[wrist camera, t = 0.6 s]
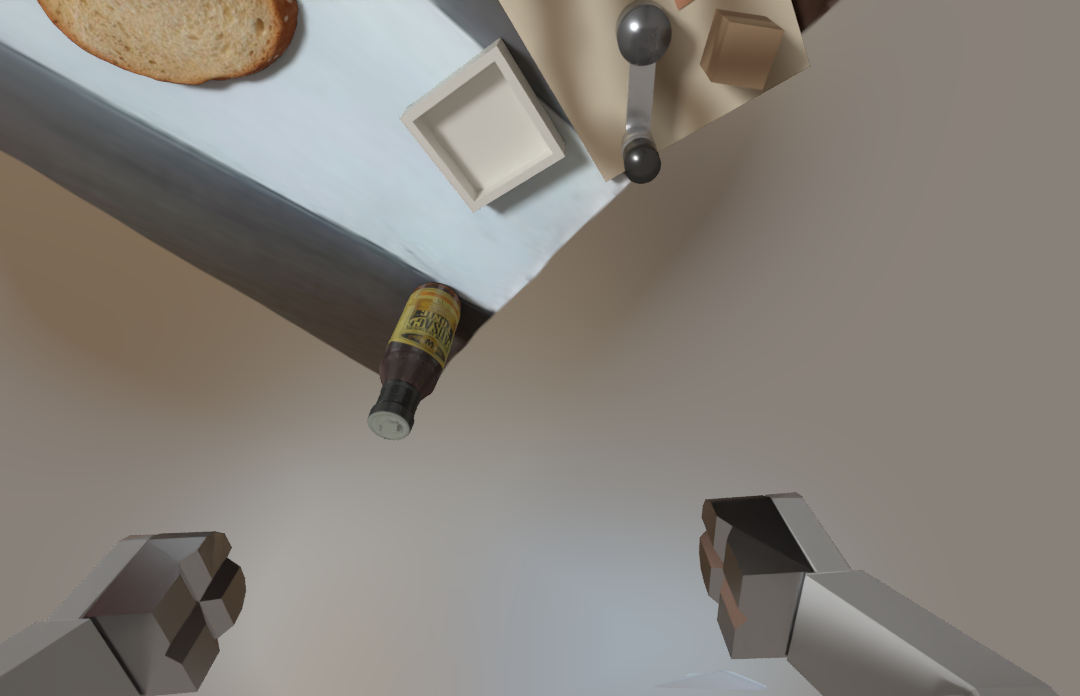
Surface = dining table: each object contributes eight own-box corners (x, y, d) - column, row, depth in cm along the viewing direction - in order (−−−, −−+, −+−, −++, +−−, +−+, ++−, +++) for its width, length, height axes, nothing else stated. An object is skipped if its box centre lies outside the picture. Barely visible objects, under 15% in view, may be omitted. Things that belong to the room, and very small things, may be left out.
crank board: (717, -229, 34) (723, -233, 33) (804, 61, 45) (810, 66, 44) (482, -34, 42) (480, -31, 41) (605, 175, 53) (606, 182, 51)
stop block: (716, 8, 42) (729, 22, 38) (765, 16, 42) (784, 30, 38) (699, 64, 44) (711, 82, 41) (746, 71, 44) (762, 89, 41)
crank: (616, -1, 41) (623, 21, 35) (668, -3, 41) (684, 18, 35) (611, 147, 49) (616, 184, 43) (655, 145, 49) (666, 182, 43)
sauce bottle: (473, 298, 63) (442, 429, 49) (444, 329, 67) (407, 459, 52) (425, 267, 61) (378, 395, 46) (398, 300, 64) (345, 429, 49)
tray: (500, 37, 45) (496, 45, 43) (565, 143, 51) (565, 156, 48) (407, 107, 49) (399, 118, 47) (477, 198, 55) (473, 212, 53)
